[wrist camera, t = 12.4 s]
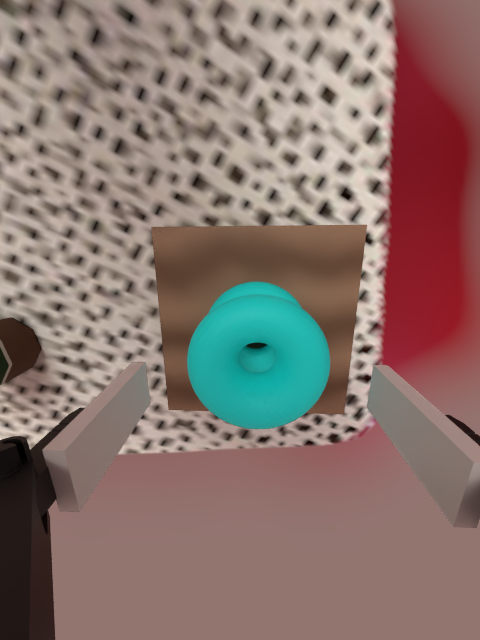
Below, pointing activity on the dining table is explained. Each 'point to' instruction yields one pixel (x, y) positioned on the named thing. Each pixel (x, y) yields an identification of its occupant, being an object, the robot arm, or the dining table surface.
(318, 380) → the donuts
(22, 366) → the beer bottle
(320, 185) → the dining table surface
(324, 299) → the walnut stand
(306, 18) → the dining table surface
